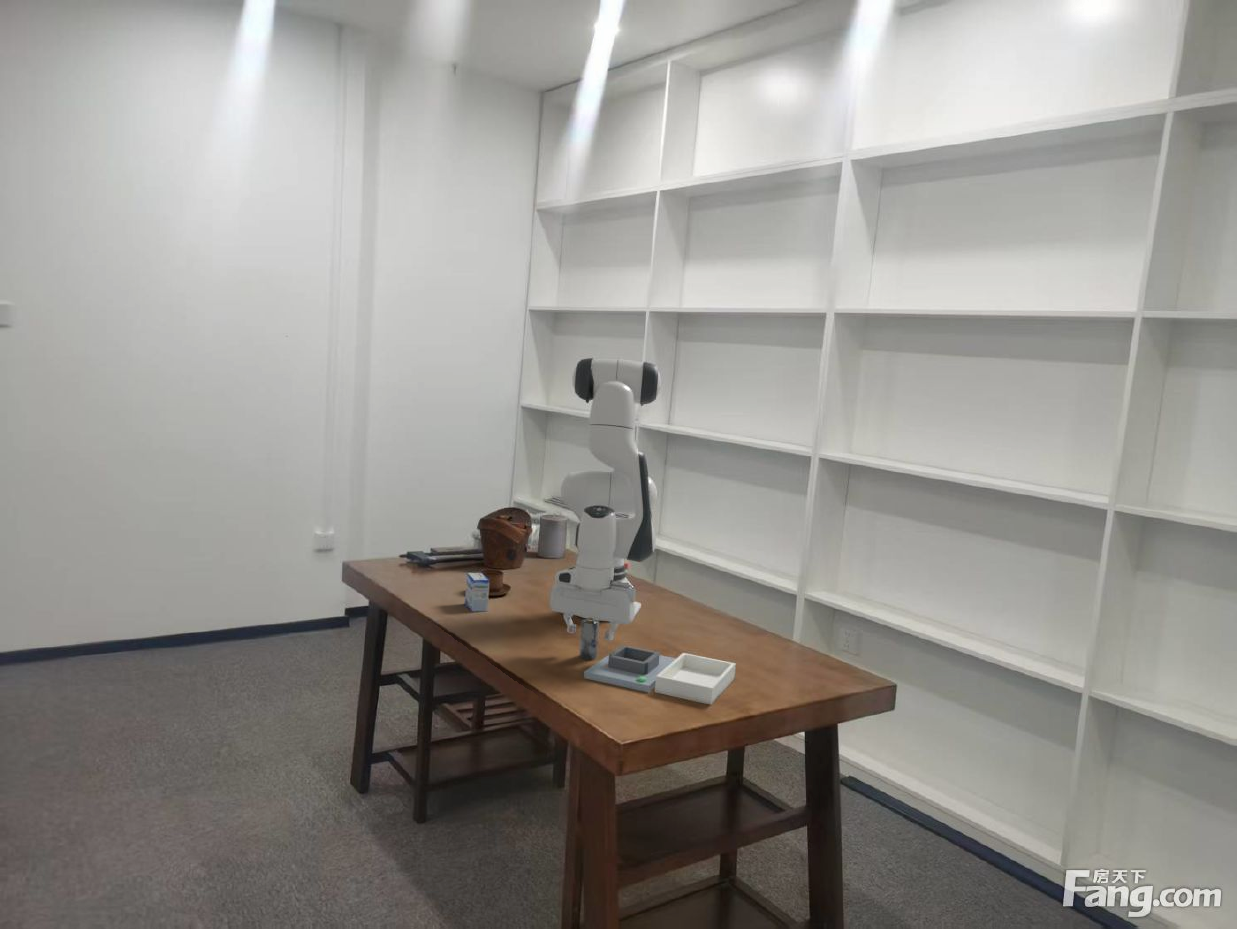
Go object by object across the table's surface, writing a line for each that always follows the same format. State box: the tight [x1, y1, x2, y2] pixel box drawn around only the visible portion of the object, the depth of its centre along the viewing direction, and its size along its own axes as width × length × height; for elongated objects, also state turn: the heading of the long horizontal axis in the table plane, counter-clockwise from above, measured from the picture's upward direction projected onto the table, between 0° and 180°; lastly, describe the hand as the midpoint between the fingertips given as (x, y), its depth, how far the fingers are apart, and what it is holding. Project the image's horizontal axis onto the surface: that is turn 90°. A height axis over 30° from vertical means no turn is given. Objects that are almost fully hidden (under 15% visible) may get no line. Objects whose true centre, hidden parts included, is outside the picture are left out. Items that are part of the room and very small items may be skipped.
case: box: [476, 506, 533, 570], centre depth 288 cm, size 18×20×18 cm
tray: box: [654, 652, 737, 706], centre depth 192 cm, size 18×12×4 cm
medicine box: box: [464, 572, 489, 613], centre depth 238 cm, size 8×4×9 cm, turn 23°
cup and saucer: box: [477, 568, 512, 597], centre depth 254 cm, size 12×12×6 cm
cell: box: [578, 618, 600, 661], centre depth 204 cm, size 4×4×9 cm
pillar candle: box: [537, 513, 569, 560], centre depth 307 cm, size 10×10×15 cm
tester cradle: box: [583, 644, 677, 693], centre depth 197 cm, size 20×15×4 cm
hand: (589, 636), depth 204 cm, fingers open, 8 cm apart
